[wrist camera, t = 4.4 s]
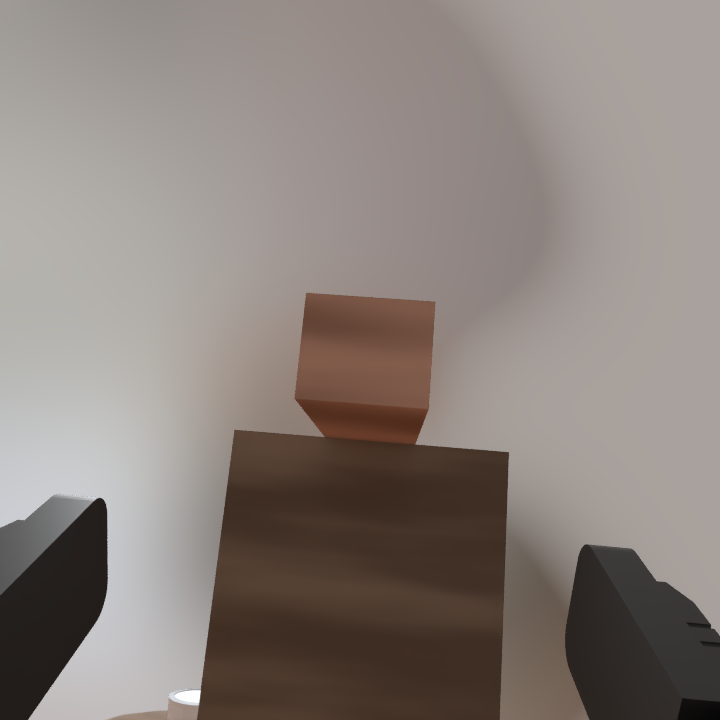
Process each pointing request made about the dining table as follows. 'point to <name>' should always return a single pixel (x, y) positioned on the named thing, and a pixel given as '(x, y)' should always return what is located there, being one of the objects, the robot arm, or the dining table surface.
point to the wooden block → (366, 366)
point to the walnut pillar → (357, 582)
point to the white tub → (184, 704)
